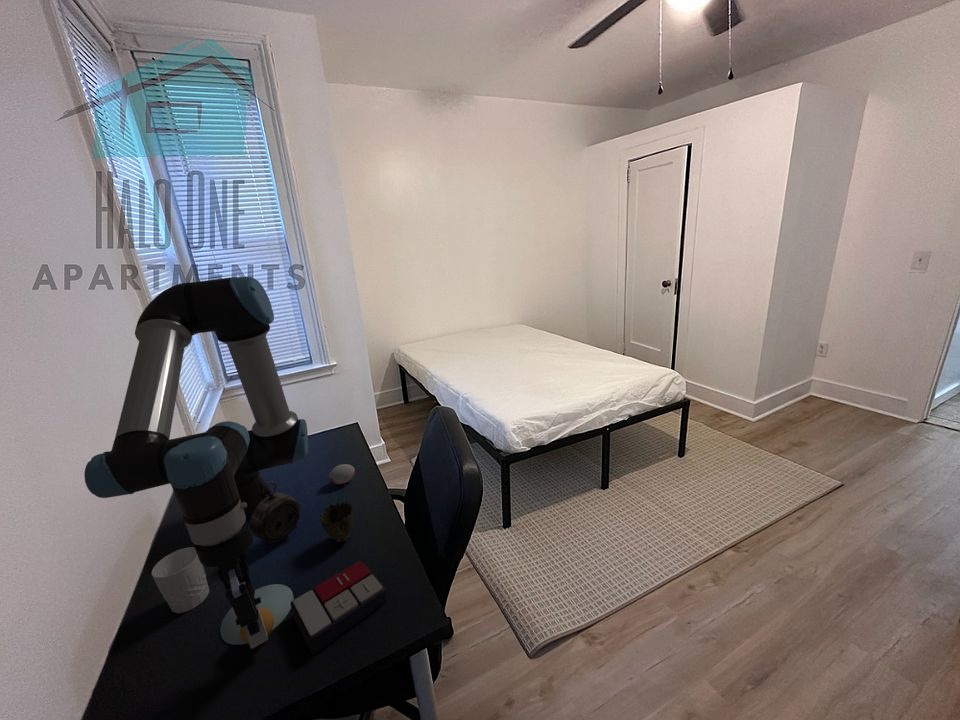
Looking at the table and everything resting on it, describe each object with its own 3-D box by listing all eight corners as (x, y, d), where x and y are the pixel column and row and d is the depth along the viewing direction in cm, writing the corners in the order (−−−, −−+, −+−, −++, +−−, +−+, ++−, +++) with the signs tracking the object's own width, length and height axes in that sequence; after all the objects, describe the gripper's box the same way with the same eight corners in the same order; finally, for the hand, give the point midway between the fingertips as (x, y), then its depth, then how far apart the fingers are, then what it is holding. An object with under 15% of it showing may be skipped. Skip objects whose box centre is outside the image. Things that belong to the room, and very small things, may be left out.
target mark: (213, 615, 78) (213, 614, 78) (281, 574, 87) (280, 574, 86) (229, 659, 69) (229, 659, 69) (303, 609, 77) (302, 608, 77)
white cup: (177, 622, 77) (160, 583, 74) (161, 606, 82) (144, 568, 79) (219, 592, 84) (205, 554, 81) (202, 578, 88) (188, 542, 85)
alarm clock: (296, 522, 103) (281, 469, 99) (309, 527, 101) (294, 473, 96) (256, 550, 95) (237, 494, 90) (269, 558, 92) (251, 499, 87)
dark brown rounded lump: (348, 551, 91) (341, 523, 89) (320, 548, 93) (313, 521, 91) (363, 528, 98) (357, 502, 96) (337, 526, 100) (330, 500, 98)
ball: (243, 649, 72) (235, 618, 73) (275, 630, 75) (267, 601, 76) (244, 653, 67) (236, 620, 69) (279, 633, 71) (271, 602, 72)
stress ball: (356, 484, 124) (351, 463, 125) (358, 481, 117) (353, 459, 118) (331, 492, 120) (326, 471, 122) (332, 489, 113) (327, 467, 115)
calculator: (386, 586, 77) (308, 637, 67) (389, 604, 78) (312, 656, 68) (361, 556, 85) (288, 598, 75) (364, 573, 86) (292, 616, 76)
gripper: (250, 541, 59) (287, 656, 66) (244, 502, 70) (277, 604, 76) (191, 567, 56) (237, 686, 62) (194, 521, 66) (233, 627, 73)
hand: (259, 641), depth 69 cm, fingers closed
